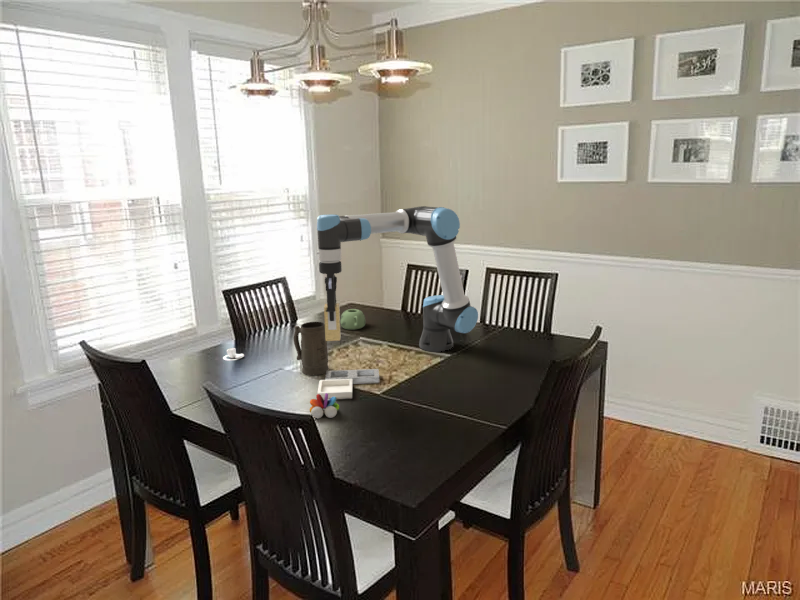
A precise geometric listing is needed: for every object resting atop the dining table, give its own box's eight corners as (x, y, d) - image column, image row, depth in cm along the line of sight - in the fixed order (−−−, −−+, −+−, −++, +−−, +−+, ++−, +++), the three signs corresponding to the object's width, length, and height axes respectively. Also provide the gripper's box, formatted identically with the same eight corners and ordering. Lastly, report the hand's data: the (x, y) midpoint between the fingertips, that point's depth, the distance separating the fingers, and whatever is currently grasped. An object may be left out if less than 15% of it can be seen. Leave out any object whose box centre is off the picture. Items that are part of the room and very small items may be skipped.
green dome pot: (337, 325, 276) (337, 308, 274) (362, 322, 280) (361, 306, 278) (345, 333, 261) (344, 316, 259) (370, 331, 265) (370, 314, 263)
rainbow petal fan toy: (310, 409, 181) (309, 389, 179) (339, 407, 182) (339, 387, 180) (308, 420, 173) (307, 399, 171) (339, 419, 174) (338, 398, 172)
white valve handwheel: (247, 358, 231) (246, 349, 230) (230, 363, 225) (229, 354, 224) (236, 353, 236) (235, 344, 235) (219, 358, 231) (218, 349, 230)
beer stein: (334, 367, 217) (329, 320, 213) (322, 377, 208) (317, 328, 204) (302, 365, 223) (296, 320, 218) (288, 375, 213) (282, 327, 209)
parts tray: (352, 385, 200) (352, 378, 200) (352, 398, 188) (352, 391, 188) (319, 386, 199) (319, 380, 199) (317, 400, 188) (317, 393, 187)
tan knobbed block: (340, 336, 192) (339, 302, 189) (340, 340, 187) (338, 306, 184) (326, 336, 191) (324, 302, 188) (325, 340, 186) (324, 306, 183)
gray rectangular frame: (378, 374, 210) (378, 368, 209) (379, 382, 202) (379, 376, 201) (326, 376, 208) (326, 370, 208) (325, 385, 200) (325, 378, 200)
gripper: (320, 256, 191) (323, 320, 196) (316, 266, 173) (320, 335, 179) (341, 256, 191) (344, 319, 197) (340, 265, 174) (342, 334, 179)
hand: (332, 326), depth 188 cm, fingers closed on tan knobbed block, 5 cm apart
